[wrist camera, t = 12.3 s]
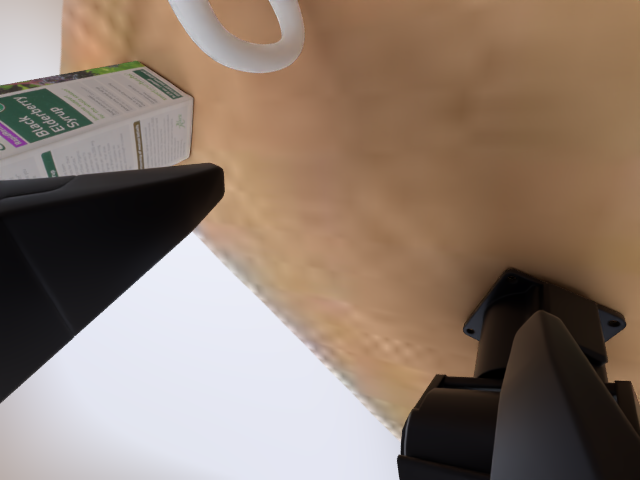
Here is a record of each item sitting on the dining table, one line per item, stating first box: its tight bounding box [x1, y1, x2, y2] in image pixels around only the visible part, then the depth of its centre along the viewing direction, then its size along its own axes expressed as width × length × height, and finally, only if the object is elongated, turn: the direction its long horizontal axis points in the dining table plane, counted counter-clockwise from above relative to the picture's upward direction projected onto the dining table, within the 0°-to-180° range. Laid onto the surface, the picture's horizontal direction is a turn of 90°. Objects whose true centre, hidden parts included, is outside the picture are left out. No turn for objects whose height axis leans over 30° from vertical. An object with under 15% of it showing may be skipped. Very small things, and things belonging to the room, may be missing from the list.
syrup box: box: [0, 61, 193, 180], centre depth 22 cm, size 6×6×14 cm
